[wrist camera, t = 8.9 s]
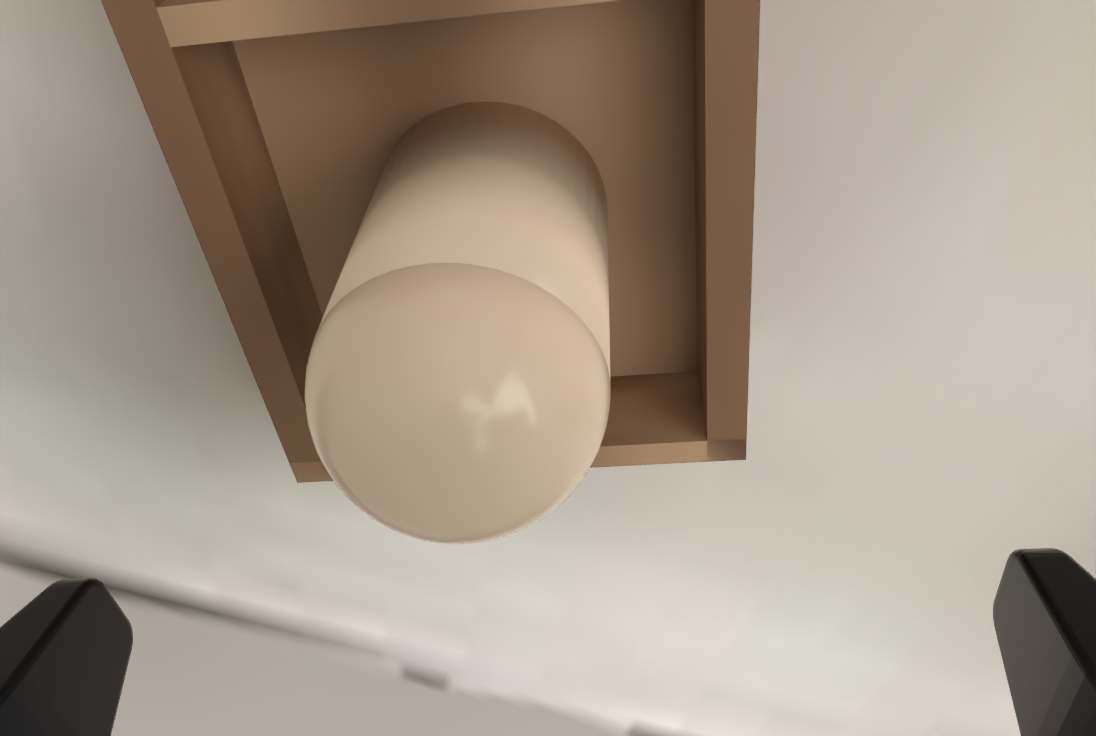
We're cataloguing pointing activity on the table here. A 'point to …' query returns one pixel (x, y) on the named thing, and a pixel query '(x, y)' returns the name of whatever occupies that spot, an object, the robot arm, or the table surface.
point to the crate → (447, 80)
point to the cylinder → (468, 330)
